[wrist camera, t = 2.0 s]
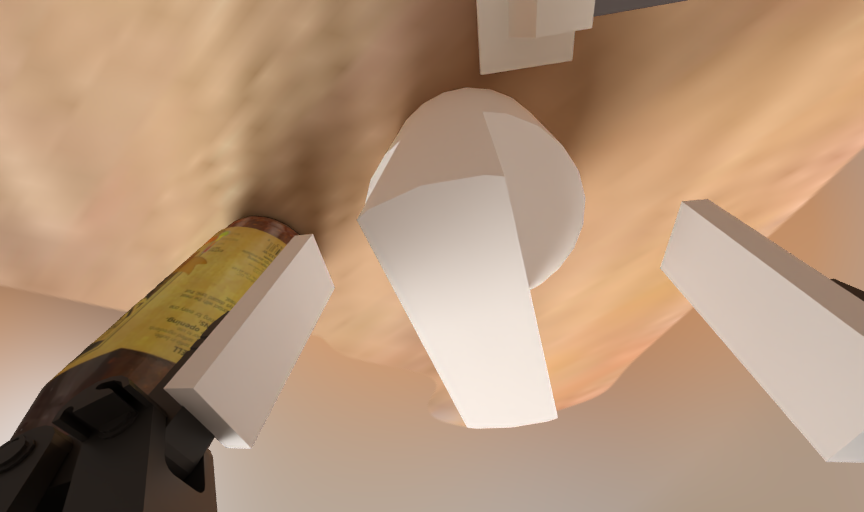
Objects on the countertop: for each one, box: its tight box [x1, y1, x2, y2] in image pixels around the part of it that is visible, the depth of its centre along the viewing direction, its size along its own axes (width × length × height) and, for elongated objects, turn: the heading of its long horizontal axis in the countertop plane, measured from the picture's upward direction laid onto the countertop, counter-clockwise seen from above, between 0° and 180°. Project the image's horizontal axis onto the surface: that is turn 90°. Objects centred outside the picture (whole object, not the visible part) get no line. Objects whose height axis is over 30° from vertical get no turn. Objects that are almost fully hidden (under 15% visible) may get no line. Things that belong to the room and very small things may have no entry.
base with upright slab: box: [357, 87, 585, 428], centre depth 13 cm, size 9×9×12 cm
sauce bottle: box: [10, 216, 298, 448], centre depth 14 cm, size 6×6×20 cm
